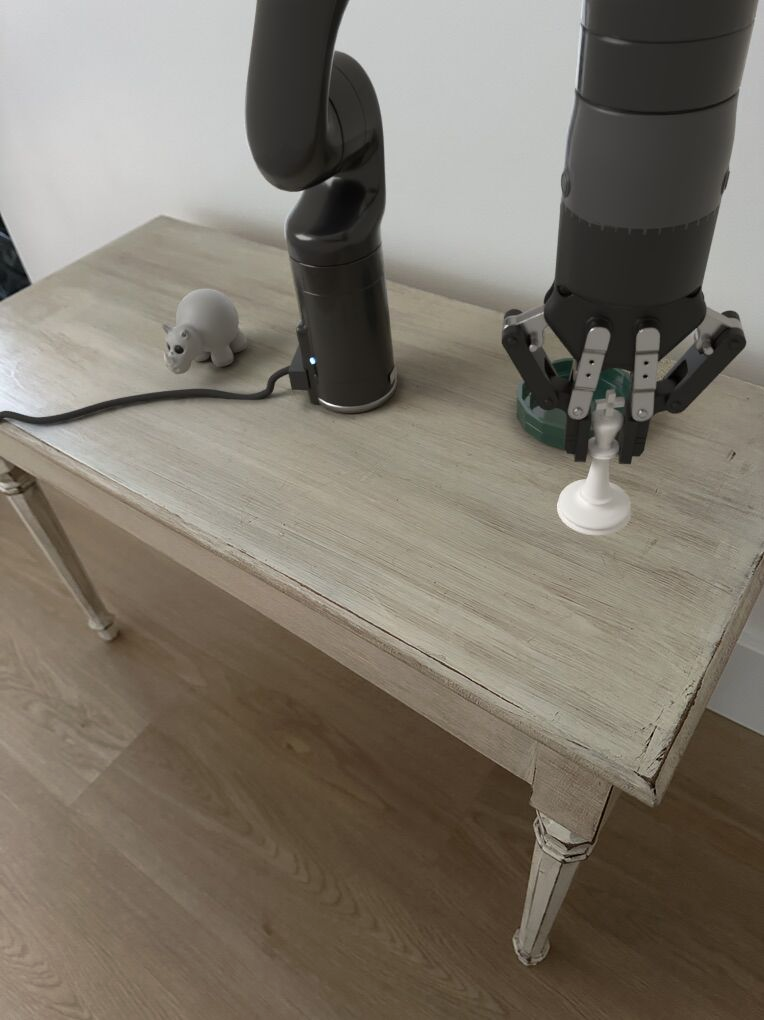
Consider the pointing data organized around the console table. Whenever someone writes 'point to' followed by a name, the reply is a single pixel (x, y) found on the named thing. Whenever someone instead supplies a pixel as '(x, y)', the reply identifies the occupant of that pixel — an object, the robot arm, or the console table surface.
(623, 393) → the dish
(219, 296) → the chubby cartoon animal
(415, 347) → the console table surface
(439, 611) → the console table surface
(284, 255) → the console table surface
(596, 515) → the chess piece
